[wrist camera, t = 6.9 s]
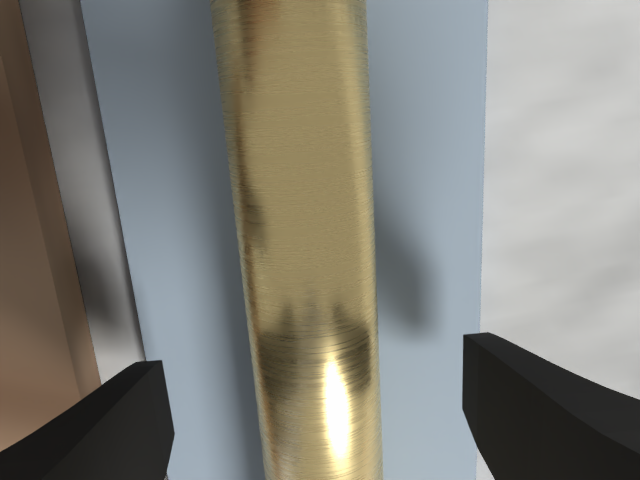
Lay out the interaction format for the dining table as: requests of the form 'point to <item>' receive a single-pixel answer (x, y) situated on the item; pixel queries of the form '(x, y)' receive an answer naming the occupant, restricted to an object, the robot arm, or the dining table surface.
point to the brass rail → (305, 228)
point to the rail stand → (34, 260)
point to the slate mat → (221, 237)
